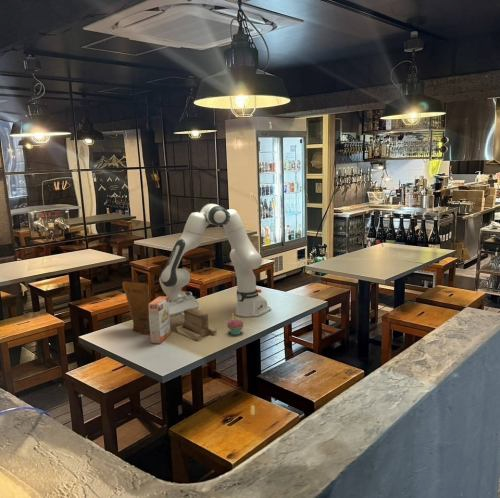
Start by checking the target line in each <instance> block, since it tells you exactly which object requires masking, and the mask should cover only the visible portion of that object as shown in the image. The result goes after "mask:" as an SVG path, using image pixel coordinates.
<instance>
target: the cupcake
mask: <svg viewBox="0 0 500 498" xmlns="http://www.w3.org/2000/svg"><path fill="white" fill-rule="evenodd" d="M231 317H232V319H231V320H229V321H228V322H227V324H226V325H227V329H229V331H230V334H231V335H233V336H237V335H240V334H241V332H242V329H243V328H244V322H243V321H241V320H239V319H235V317H234V313H233V312H232V313H231Z"/></svg>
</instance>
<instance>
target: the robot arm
mask: <svg viewBox="0 0 500 498" xmlns="http://www.w3.org/2000/svg"><path fill="white" fill-rule="evenodd" d="M210 224H211V225H214V226H222V227H223V229H224V232H225V235H226V236H227V237H226V238H227V239H228V240H227V241H228V242H229V245H230V246H231V247H232V249H231V250H230V252H229V259H230V261H231V263H232V265H233V268H234V272H235V276H236V289H237V290H236V299H237V300H236V309H235V315H237V316H239V317H246V318H247V317H248V318H249V317H254V318H255V317H256V318H257V317H260V316H262V315H264V314H266V313H268V312H270V311H271V310H272V307H271V306H269V305H268V302H267V300H266V299H265V298H264V297H262V296H261V295H259V294H260V293H262V289H260V288H258V289H257V282H256V280H257V279H256V275H255V274H254V270H256V269H257V270H258V269H259V268H260V267H261V265H262V262H263V257H262V255H261V254H260V253H259V252H258V251H257V250H256V247H255V246H254V244H253V243H252V241H251V239H250V238H249V236H248V233H247V230H246V227H245V225H244V223H243V220H242V218H241V216H240V214H239V213H238V211H237V210H236V209H232V208H230V209H226V208H224V207H223V206H221V205H218V204H216V203H205V204H204V205H203V206H202V207H201V208H200V209H199V211H196V212H191V213H190V215H188V218H187V219H186V223H185V224H184V227H183V230H182V231H183V232H182V234H181V236H180V238H179V239H178V240H177V241H176V243H175V244H174V246H173V248H172V250H171V252H170V255H169V257H168V260H167V262H166V264H165V266H164V268H163V269H162V270H161V273H160V276H159V279H158V281H159V285H160V287H161V289H162V291H163V293H164V294H165V295H166V296H167V297H169V314H170V319H171V318H174V317H177V316H180V317H181V318H182V319H183V320H184V321H185V316H184V310H187V309H190V308H193V309H196V310H198V309H199V307H200V303H199V301H198V300H197V298H196V297H195V296H193V293H192V291H182V288H185V287H186V286H187V285H189V283H190V281H191V276H192V275H191V272H190V271H189V270H188V269H187V268H178V267H179V265H180V262H181V260H182V259H183V258H182V257H184V255H185V254H186V253H187V252H189V251H191V250H193V249H196V248H198V247H199V246H200V245H201V243H202V241H203V237H204V235H205V230H206V228H207V227H208V226H209V225H210ZM269 310H270V311H269Z"/></svg>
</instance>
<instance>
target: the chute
mask: <svg viewBox="0 0 500 498" xmlns="http://www.w3.org/2000/svg"><path fill="white" fill-rule="evenodd" d="M208 328H209V335H211V336H217V335H218V334H217V329H216V328H212V327H210V326H208ZM175 331H176V332H177V333H178V334H181V335H183V336H185V337H188V338H190V339H192V340H195V341H196V342H199V341H201V340H202V338H201V335H199V334H197V333H194V332H192V331H190V330H187V329H185V323H184V324H180V325H178V326H176V327H175Z"/></svg>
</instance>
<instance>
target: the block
mask: <svg viewBox="0 0 500 498" xmlns="http://www.w3.org/2000/svg"><path fill="white" fill-rule="evenodd" d="M184 316H185V320H184V324H185V329H187V330H190V331H192V332H194V333H197V334H199V335H201V339H203V338H206V337H208V336H209V335H210V334H209V328H208V327H209V318H208V317H209V314H208V312H207V313H206V312H204V311H201V310H198V309H197V310H196V309H193V308H190V309H187V310H184Z"/></svg>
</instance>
